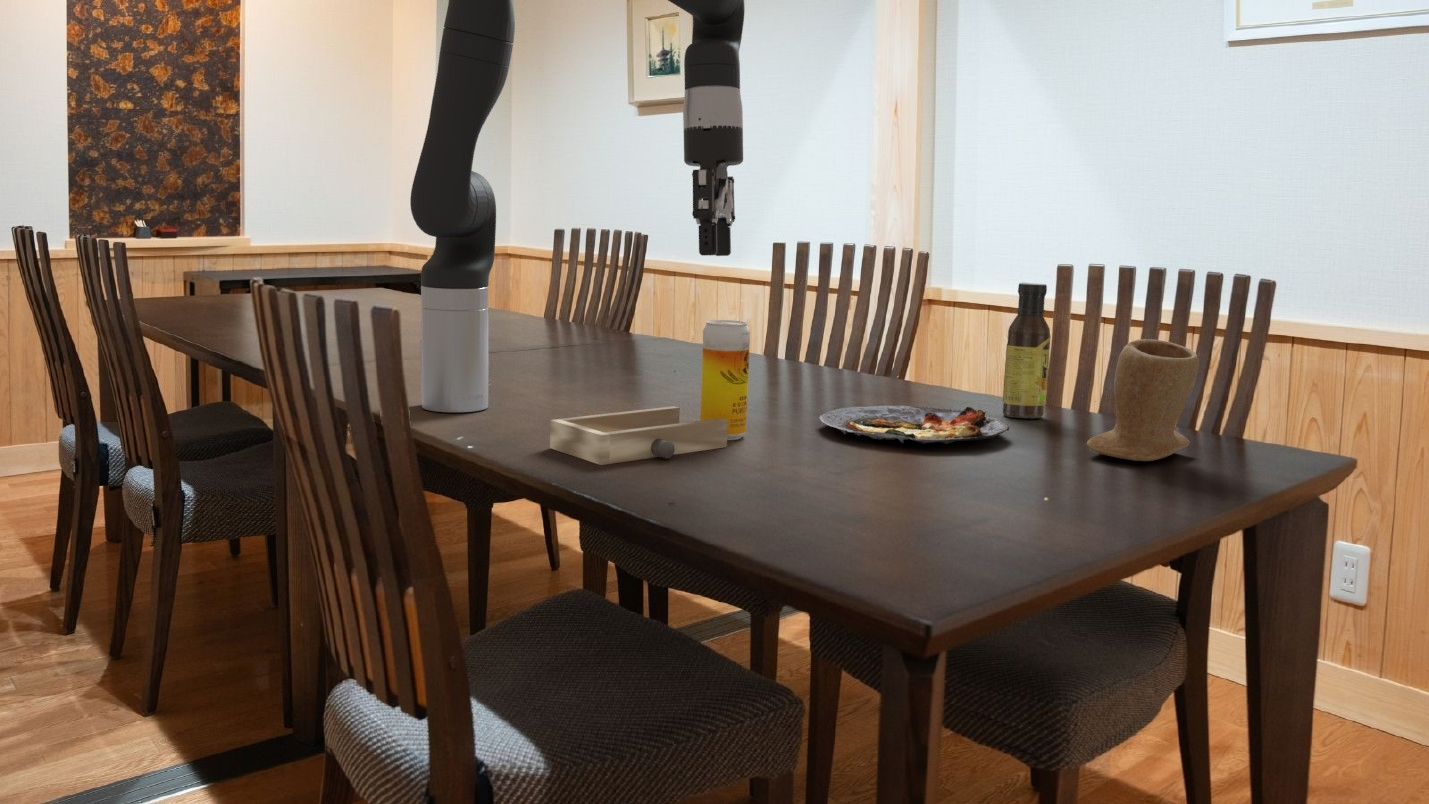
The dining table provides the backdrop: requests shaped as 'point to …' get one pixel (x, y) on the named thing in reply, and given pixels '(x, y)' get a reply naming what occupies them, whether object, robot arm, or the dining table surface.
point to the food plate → (915, 423)
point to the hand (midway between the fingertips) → (715, 255)
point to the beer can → (725, 374)
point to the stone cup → (1149, 401)
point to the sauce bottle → (1027, 356)
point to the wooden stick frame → (635, 435)
